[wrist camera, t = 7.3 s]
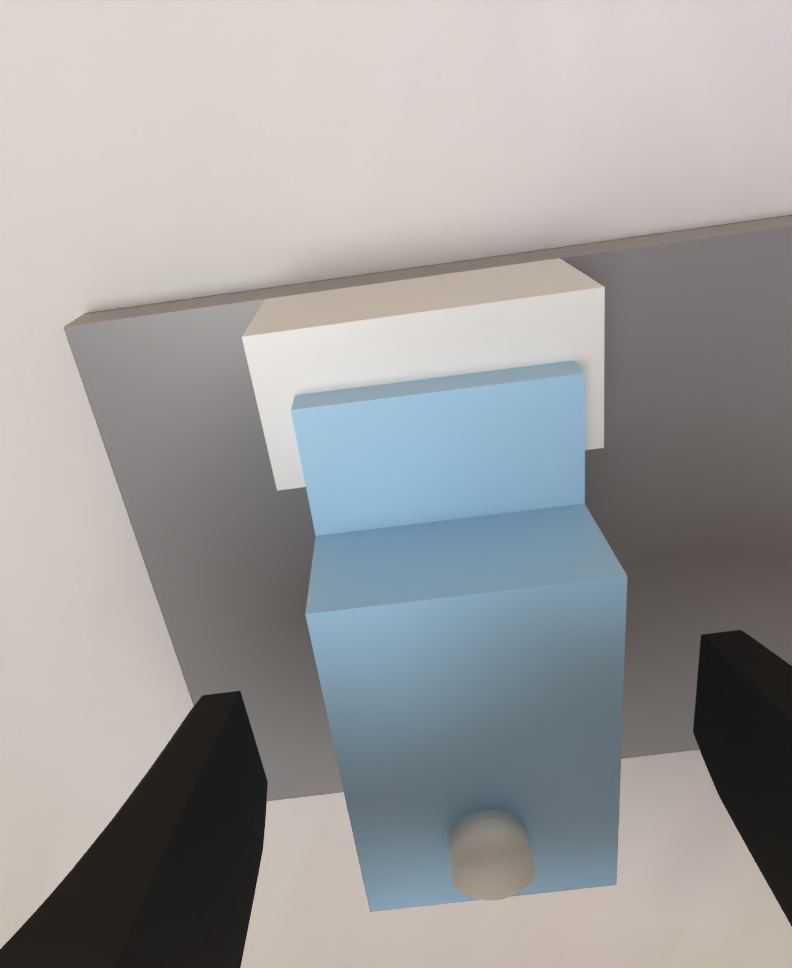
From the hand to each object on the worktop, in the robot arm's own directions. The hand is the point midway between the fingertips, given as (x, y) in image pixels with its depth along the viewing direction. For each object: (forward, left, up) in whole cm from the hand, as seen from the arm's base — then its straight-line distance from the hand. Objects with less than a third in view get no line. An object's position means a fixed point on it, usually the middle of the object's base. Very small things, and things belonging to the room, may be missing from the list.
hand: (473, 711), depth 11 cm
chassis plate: (-4, 0, -5) cm, 6 cm away
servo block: (0, 0, -4) cm, 4 cm away
